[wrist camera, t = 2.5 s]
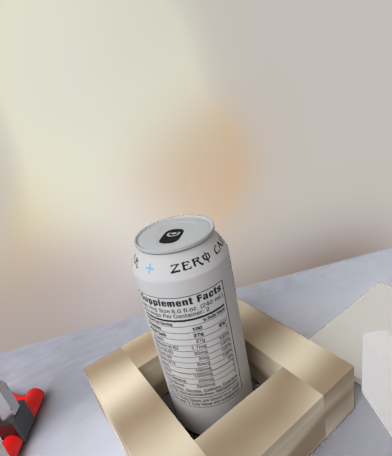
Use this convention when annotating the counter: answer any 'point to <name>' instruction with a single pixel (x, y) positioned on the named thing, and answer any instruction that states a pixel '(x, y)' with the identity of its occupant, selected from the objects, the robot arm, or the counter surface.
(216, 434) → the socket holder
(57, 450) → the counter surface
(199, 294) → the energy drink can
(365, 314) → the white square plate
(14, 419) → the tow hook
